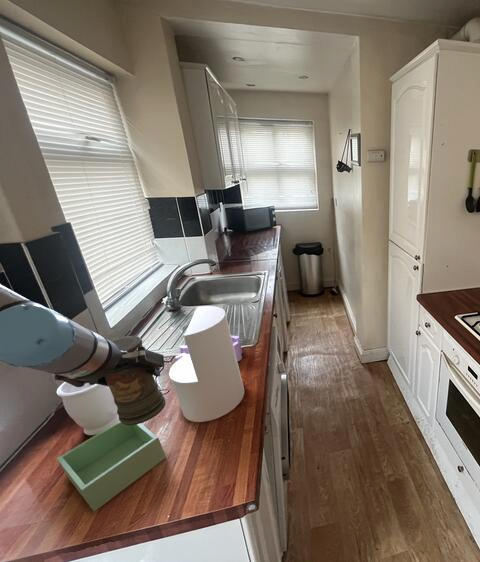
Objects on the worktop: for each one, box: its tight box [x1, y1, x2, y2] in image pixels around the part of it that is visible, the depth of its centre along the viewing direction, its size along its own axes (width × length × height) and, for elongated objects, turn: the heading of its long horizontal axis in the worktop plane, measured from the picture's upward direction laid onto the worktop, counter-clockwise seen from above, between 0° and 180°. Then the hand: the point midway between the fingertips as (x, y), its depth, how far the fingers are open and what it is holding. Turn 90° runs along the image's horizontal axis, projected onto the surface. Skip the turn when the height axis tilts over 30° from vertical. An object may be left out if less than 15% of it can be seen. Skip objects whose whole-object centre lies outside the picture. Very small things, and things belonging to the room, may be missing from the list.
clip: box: [174, 335, 244, 363], centre depth 111 cm, size 20×12×7 cm, turn 110°
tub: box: [56, 421, 167, 512], centre depth 73 cm, size 15×15×7 cm
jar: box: [56, 381, 120, 436], centre depth 84 cm, size 11×10×15 cm
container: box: [104, 335, 166, 425], centre depth 68 cm, size 9×9×18 cm
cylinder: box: [168, 305, 245, 423], centre depth 89 cm, size 17×17×28 cm
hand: (136, 375), depth 72 cm, fingers closed on container, 8 cm apart
